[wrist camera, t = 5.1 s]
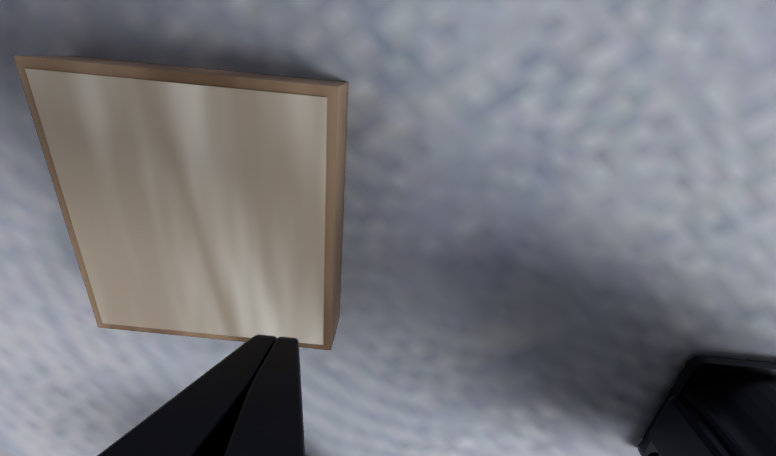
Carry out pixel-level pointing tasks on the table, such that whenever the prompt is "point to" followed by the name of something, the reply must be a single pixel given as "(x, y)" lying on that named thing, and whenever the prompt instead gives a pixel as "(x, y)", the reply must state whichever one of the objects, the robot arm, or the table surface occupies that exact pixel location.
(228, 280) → the wooden block
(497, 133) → the table surface
